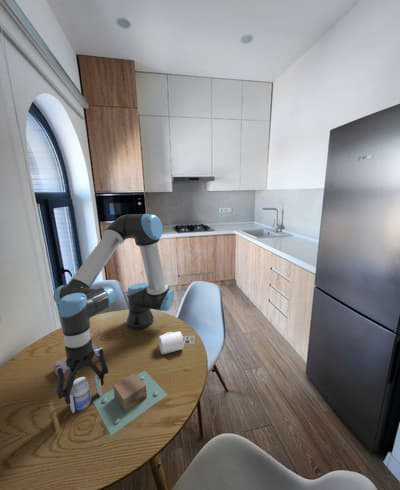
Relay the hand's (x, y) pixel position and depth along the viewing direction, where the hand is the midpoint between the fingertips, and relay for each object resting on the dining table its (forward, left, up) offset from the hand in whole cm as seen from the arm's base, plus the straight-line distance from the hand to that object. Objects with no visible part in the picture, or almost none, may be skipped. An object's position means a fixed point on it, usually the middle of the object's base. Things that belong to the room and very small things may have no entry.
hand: (86, 401), depth 74 cm
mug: (-39, -5, -2) cm, 39 cm away
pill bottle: (+1, -1, -2) cm, 2 cm away
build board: (-12, +9, -1) cm, 15 cm away
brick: (-4, -23, -2) cm, 24 cm away
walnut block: (-12, +9, 0) cm, 15 cm away
